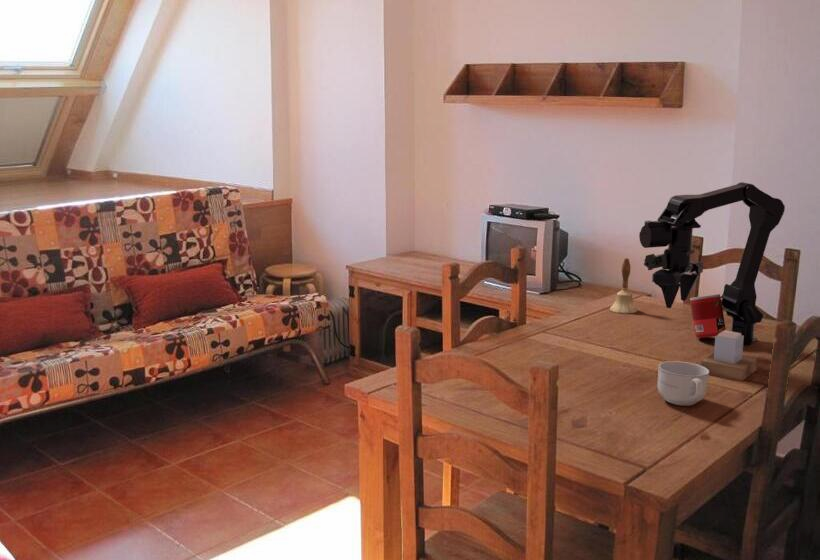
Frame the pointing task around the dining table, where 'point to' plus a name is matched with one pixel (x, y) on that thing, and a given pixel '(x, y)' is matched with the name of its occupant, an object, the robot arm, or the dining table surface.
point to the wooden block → (730, 367)
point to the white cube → (728, 347)
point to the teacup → (682, 382)
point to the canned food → (707, 315)
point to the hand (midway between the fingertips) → (676, 304)
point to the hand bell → (624, 293)
